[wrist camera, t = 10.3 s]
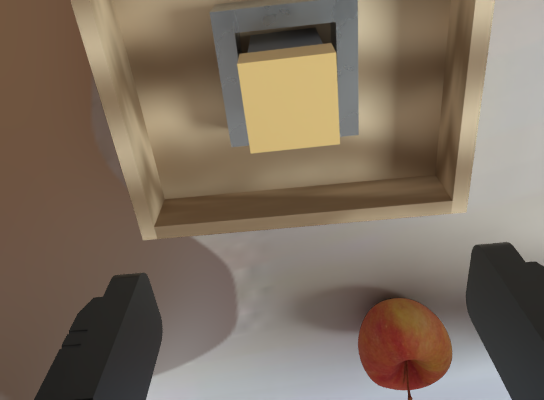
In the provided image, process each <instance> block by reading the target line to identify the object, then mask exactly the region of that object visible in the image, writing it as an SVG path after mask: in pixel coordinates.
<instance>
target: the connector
mask: <svg viewBox="0 0 544 400" xmlns="http://www.w3.org/2000/svg"><path fill="white" fill-rule="evenodd" d="M237 67H238V74H239V80H240V87H241V93H242V100H243V107H244V113H245V120H246V126H247V133H248V139H249V146H250V153H251V154H252V153H261V152H271V151H280V150H290V149H299V148H309V147H318V146H328V145H337V144H340V131H339V107H338V83H337V60H336V51H335V49H334V47H333V45H332V43H327V44H323V43H322V41H321V39H320V36H319V34H318V32H317V30H316V27H314V28H306V29H298V30H289V31H281V32H273V33H265V34H256V35H251V37H250V42H249V48H248V53H242V54H239V58H238V62H237Z"/></svg>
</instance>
